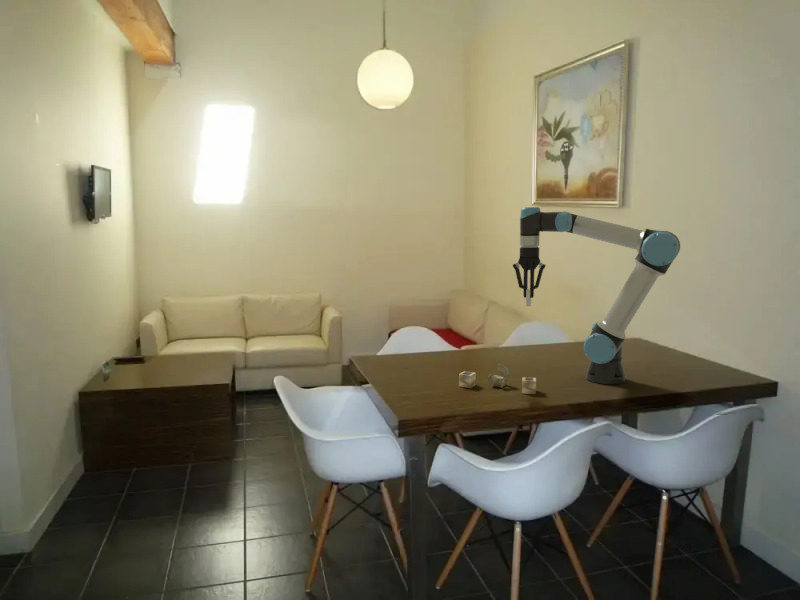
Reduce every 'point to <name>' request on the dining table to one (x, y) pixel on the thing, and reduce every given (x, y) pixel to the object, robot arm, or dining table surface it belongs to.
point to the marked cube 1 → (467, 379)
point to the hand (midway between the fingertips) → (528, 305)
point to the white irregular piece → (499, 377)
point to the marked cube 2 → (528, 385)
